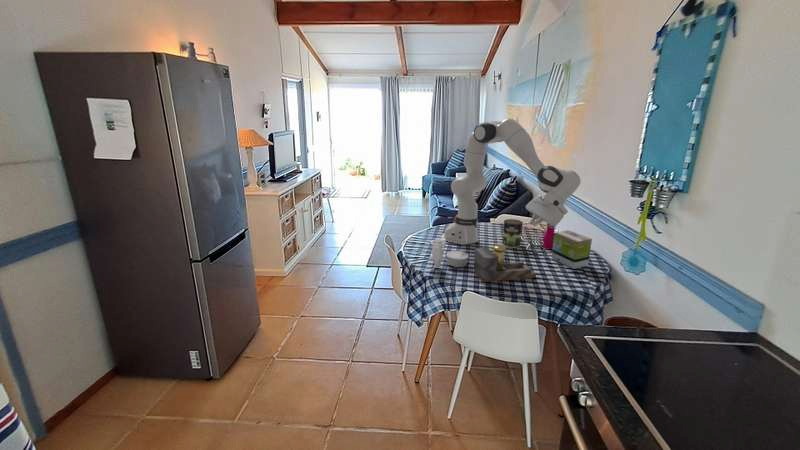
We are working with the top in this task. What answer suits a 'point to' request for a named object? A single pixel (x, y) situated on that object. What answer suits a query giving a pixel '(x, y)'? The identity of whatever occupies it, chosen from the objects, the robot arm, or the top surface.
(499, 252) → the knob
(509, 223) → the coffee can
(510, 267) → the rail mount
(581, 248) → the tea box
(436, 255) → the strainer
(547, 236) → the pepper mill
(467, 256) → the ramekin
